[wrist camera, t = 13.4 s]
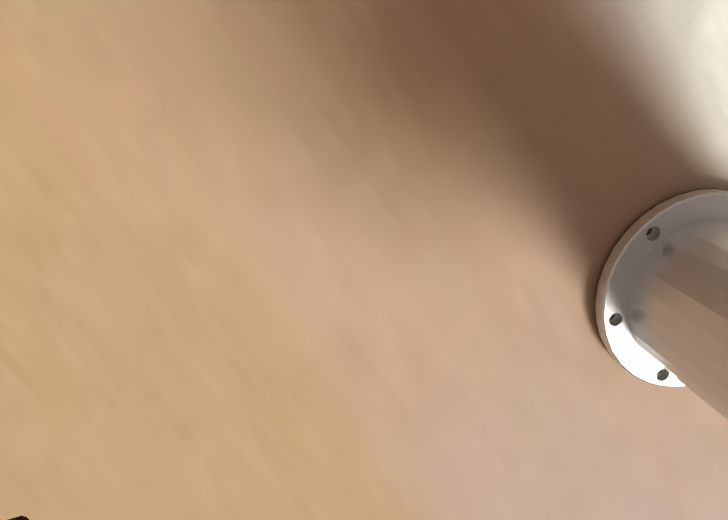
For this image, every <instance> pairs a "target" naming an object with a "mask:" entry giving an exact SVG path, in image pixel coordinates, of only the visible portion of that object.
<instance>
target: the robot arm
mask: <svg viewBox="0 0 728 520" xmlns="http://www.w3.org/2000/svg"><path fill="white" fill-rule="evenodd" d="M595 308H596V323H597V326H598V330H599V334H600V338H601V339H602V341H603V343H604V345H605V347H606V349H607V351H608V352H609V353H610V355H611V356H612V357H613V358H614V359H615V360H616V361H617V363H618V364H620V365H621V366H622V367H623V368H624V369H626V370H627V371H628V372H629V373H630V374H631V375H633V376H635V377H637V378H639V379H641V380H643V381H644V382H647V383H651V384H654V385H657V386H667V387H682V386H686V387H688V388H689V389H690V390H691V391H692V392H694V393H695V394H696V395H697V396H699V397H700V398H701V399H702V400H704V401H705V402H706V403H707V404H708V405H710V406H711V407H712V408H713V409H715V410H716V411H717V412H718V413H720V414H721V415H722V416H723V417H725V418H726V419H727V420H728V191H726V190H719V189H707V190H695V191H692V192H688V193H684V194H681V195H677V196H675V197H673V198H671V199H669V200H667V201H665V202H663V203H660V204H658V205H657V206H656V207H654V208H653V209H651V210H650V211H648V212H647V213H646V214H644V215H643V216H641V217H640V218H639V219H638V220H637V221H636V222H635V223H634V224H633V225H632V226H631V227H630V228H629V229H628V230H627V231H626V232H625V234H624V235H623V236H622V238H621V239H620V240H619V242H618V243H617V244H616V246H615V247H614V248H613V250H612V252H611V254H610V256H609V258H608V260H607V262H606V264H605V265H604V268H603V271H602V274H601V277H600V280H599V283H598V288H597V295H596V302H595ZM9 520H29V519H28V518H27V517H24V516H19V517H16V518H12V519H9Z"/></svg>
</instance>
